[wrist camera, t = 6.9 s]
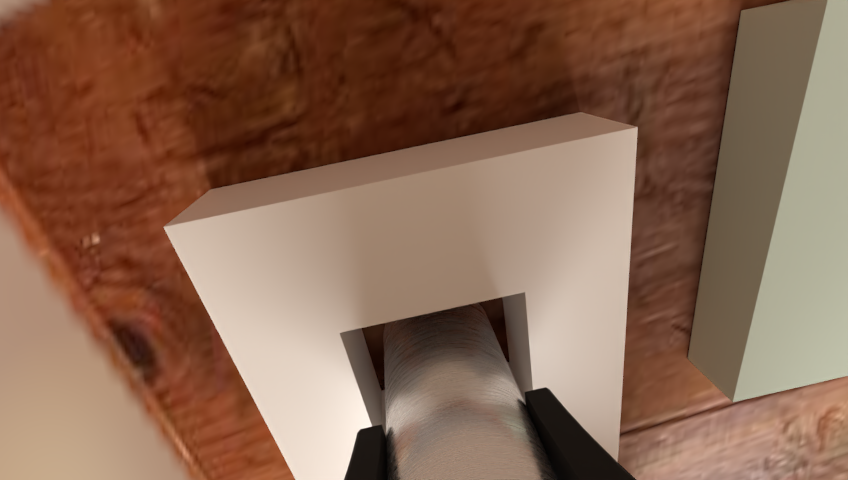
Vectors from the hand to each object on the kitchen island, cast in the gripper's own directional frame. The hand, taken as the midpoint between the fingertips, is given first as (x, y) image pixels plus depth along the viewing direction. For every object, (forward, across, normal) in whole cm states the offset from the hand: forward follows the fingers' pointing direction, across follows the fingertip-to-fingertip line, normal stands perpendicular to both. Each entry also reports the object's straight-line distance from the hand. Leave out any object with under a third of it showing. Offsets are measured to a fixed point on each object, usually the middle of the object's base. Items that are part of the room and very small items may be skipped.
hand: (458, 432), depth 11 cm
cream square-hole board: (+5, 0, 0) cm, 5 cm away
